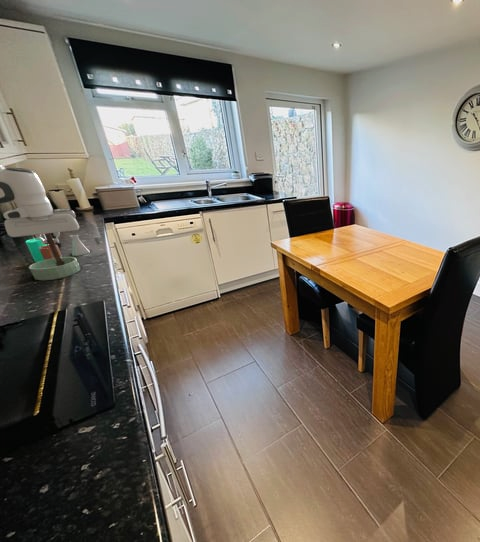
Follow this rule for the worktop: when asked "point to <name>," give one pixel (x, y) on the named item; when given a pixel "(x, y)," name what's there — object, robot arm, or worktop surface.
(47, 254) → the utensil pot
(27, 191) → the robot arm
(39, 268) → the mixing bowl
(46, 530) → the worktop surface
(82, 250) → the flask
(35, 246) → the candle
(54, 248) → the stirring stick
